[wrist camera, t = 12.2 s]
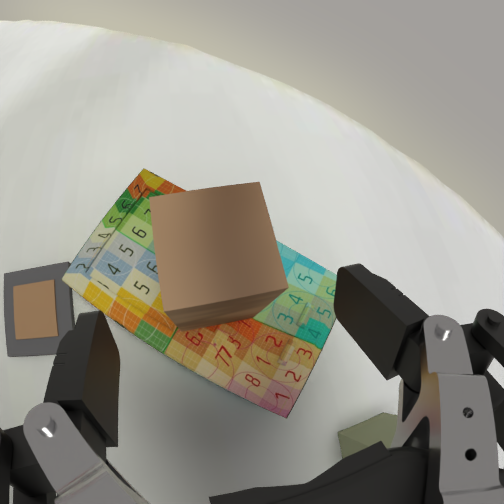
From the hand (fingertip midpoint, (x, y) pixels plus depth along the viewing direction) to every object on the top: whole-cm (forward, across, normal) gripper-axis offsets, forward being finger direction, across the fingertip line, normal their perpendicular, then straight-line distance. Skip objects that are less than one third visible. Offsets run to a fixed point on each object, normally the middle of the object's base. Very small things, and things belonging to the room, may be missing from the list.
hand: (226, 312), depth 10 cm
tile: (+14, +16, +8) cm, 22 cm away
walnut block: (+10, 0, +5) cm, 11 cm away
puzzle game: (+14, 0, +8) cm, 16 cm away
